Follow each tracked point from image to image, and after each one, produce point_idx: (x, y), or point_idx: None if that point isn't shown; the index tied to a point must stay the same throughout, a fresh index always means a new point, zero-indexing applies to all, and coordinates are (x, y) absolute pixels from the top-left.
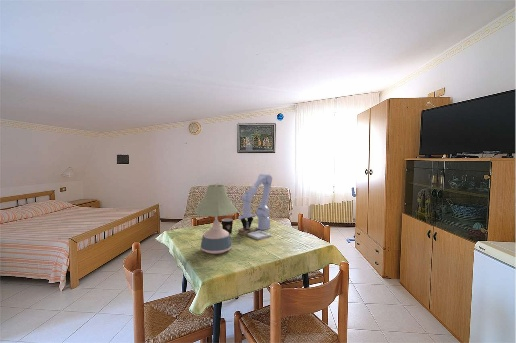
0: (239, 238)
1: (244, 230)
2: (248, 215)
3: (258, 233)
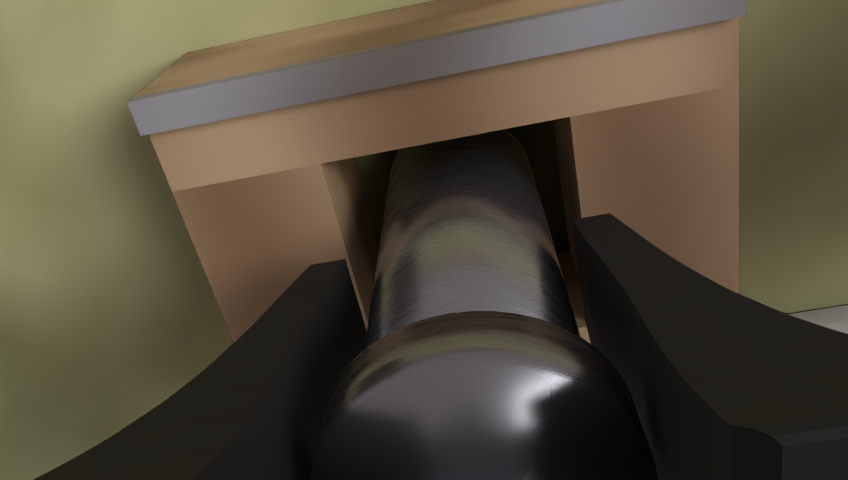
0: None
1: None
2: None
3: None
